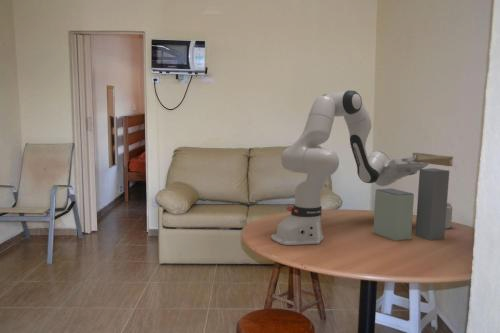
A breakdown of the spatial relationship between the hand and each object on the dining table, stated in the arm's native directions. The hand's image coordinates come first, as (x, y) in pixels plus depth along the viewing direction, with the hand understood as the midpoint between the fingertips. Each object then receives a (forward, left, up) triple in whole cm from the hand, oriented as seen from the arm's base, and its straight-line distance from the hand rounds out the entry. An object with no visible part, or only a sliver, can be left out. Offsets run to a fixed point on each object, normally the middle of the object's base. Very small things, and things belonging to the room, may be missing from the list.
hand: (420, 156), depth 201 cm
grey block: (-15, -1, -35) cm, 38 cm away
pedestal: (0, -9, -35) cm, 36 cm away
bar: (0, -7, -2) cm, 7 cm away
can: (+19, +1, -35) cm, 40 cm away
